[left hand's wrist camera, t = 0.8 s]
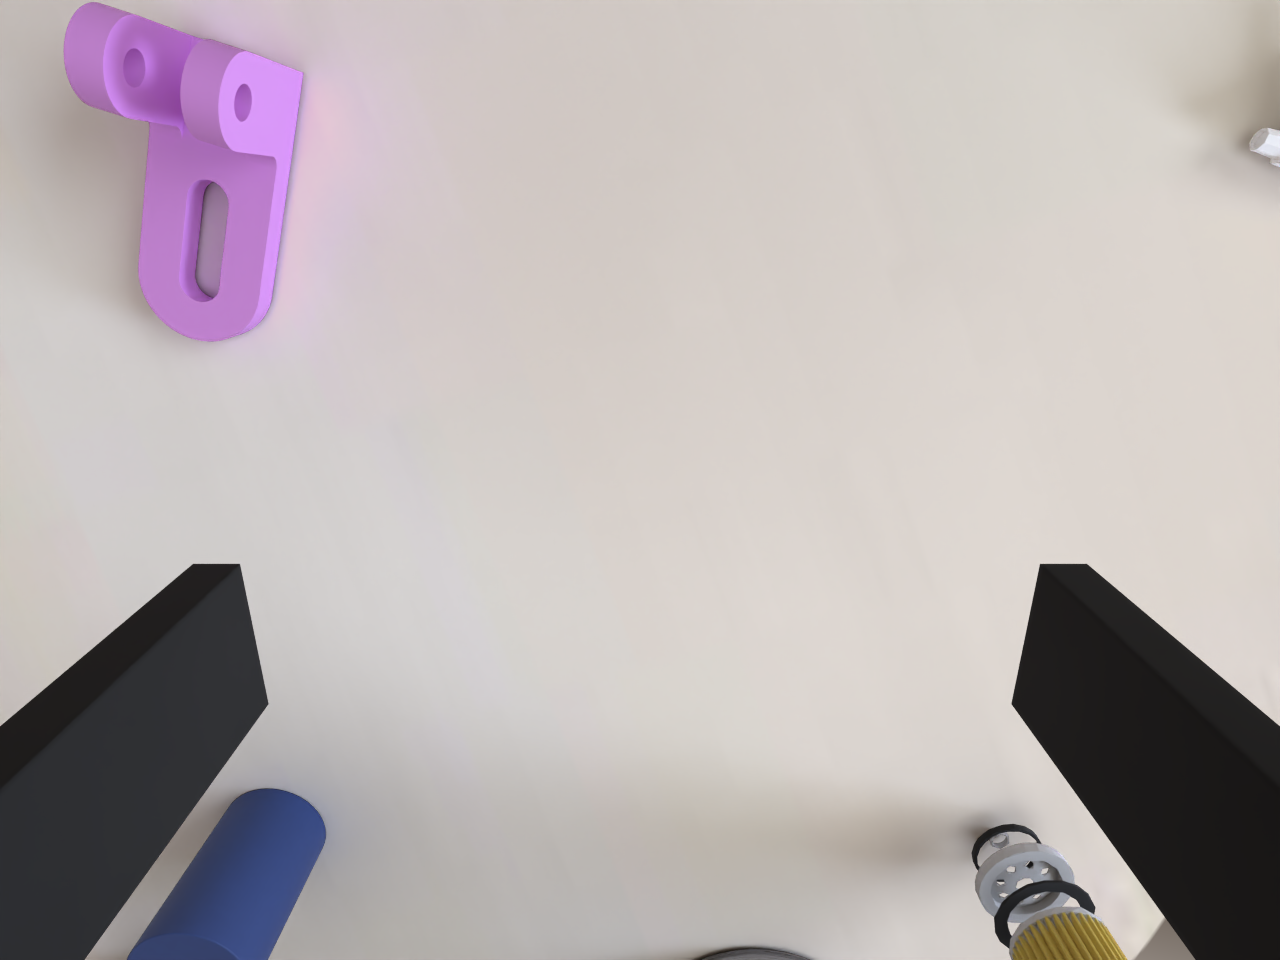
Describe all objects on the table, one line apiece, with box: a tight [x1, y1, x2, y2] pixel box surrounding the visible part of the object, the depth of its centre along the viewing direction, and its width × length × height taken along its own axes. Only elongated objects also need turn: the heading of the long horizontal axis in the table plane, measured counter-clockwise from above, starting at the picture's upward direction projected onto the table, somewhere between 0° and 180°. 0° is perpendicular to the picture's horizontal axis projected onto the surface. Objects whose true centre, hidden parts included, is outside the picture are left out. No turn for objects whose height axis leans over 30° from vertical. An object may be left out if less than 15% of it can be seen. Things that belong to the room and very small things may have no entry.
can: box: [127, 789, 326, 960], centre depth 44 cm, size 6×6×10 cm
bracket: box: [64, 2, 303, 341], centre depth 33 cm, size 13×6×7 cm, turn 163°
